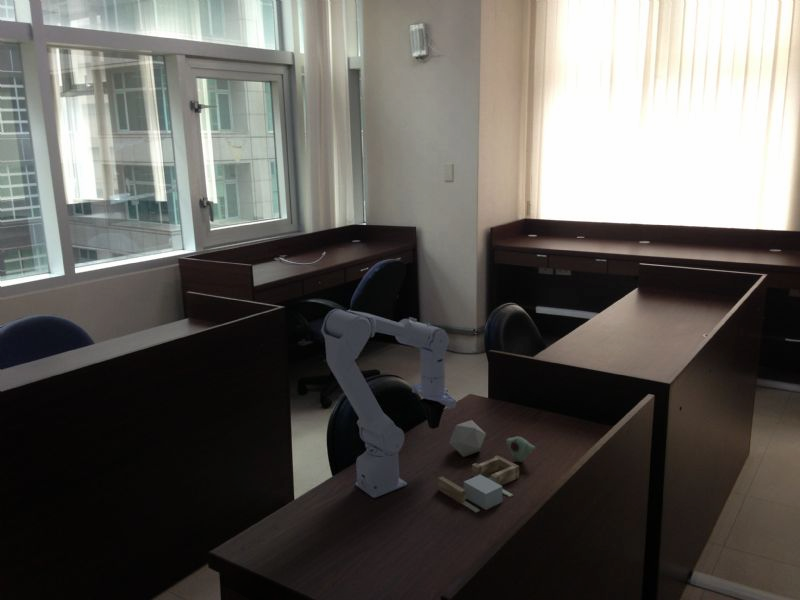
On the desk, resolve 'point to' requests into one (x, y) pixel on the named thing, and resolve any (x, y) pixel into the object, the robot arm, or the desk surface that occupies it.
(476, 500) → the grey block
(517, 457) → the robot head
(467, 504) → the rails
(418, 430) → the desk surface
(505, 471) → the channel
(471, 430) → the die
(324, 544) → the desk surface
